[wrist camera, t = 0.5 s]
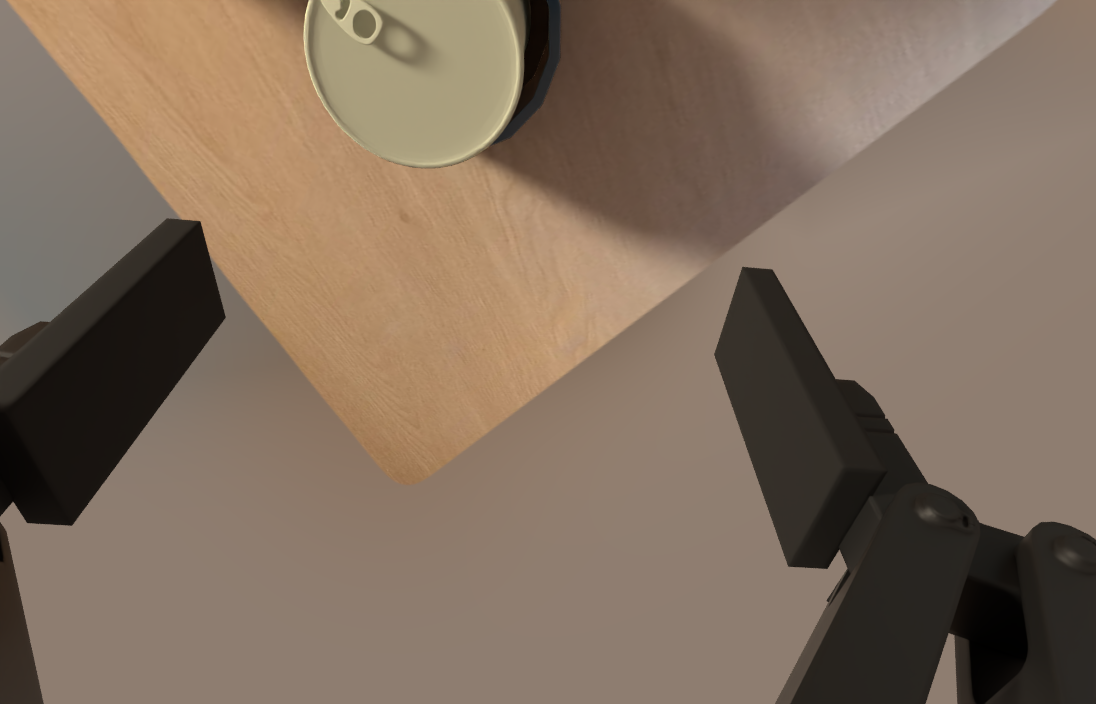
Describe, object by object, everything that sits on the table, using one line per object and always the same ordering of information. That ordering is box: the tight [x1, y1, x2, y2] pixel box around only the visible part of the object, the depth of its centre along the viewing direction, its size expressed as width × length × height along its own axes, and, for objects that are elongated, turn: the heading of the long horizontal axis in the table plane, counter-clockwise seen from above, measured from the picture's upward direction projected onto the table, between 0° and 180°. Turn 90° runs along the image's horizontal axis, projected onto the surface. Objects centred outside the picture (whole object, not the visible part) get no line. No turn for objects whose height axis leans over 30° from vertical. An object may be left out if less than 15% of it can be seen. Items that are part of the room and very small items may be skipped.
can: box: [304, 0, 531, 168], centre depth 30 cm, size 9×9×12 cm
